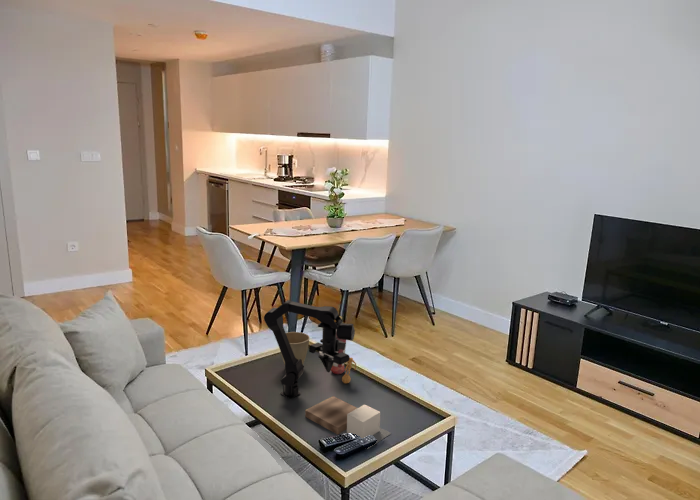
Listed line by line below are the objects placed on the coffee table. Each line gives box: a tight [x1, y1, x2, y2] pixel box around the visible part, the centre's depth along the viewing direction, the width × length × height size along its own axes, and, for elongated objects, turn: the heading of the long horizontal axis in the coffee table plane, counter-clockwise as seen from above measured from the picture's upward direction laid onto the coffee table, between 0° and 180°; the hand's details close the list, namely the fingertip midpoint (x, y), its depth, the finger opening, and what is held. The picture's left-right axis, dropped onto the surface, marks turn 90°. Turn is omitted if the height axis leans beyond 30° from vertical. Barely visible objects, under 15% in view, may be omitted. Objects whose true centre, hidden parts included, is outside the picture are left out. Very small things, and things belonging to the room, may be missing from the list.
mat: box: [339, 427, 392, 450], centre depth 195 cm, size 14×14×1 cm
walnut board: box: [304, 395, 358, 435], centre depth 205 cm, size 18×16×3 cm
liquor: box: [330, 315, 347, 375], centre depth 241 cm, size 7×7×28 cm
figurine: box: [341, 356, 357, 384], centre depth 234 cm, size 8×6×12 cm
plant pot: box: [280, 331, 311, 366], centre depth 246 cm, size 15×15×16 cm
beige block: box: [347, 404, 381, 438], centre depth 195 cm, size 8×10×8 cm
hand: (328, 371), depth 216 cm, fingers closed
